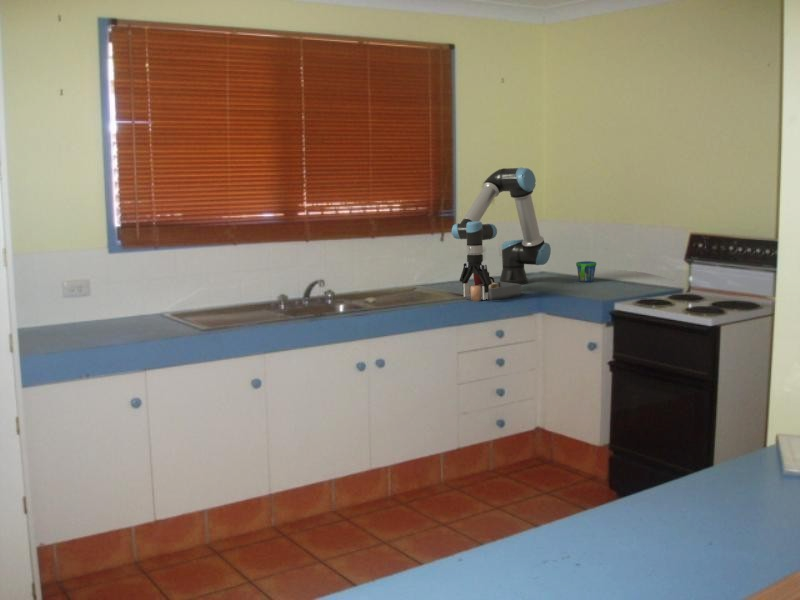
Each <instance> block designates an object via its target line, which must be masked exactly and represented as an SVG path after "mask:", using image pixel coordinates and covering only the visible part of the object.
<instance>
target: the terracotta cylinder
mask: <svg viewBox="0 0 800 600" xmlns="http://www.w3.org/2000/svg"><path fill="white" fill-rule="evenodd" d="M471 300H473V301H472V302H474V301H475V302H481V301H482V299H481V286H475V285H471V294H470V301H471ZM475 302H474V303H475Z"/></svg>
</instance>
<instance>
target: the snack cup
mask: <svg viewBox="0 0 800 600" xmlns="http://www.w3.org/2000/svg"><path fill="white" fill-rule="evenodd" d="M575 264H576V268H577V275H578V279H579V282H581V283H591V282H593V281H594V279H595V274H596V267H597V262H596V261H591V260H589V261H587V260H585V261H577V262H576V263H575Z"/></svg>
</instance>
